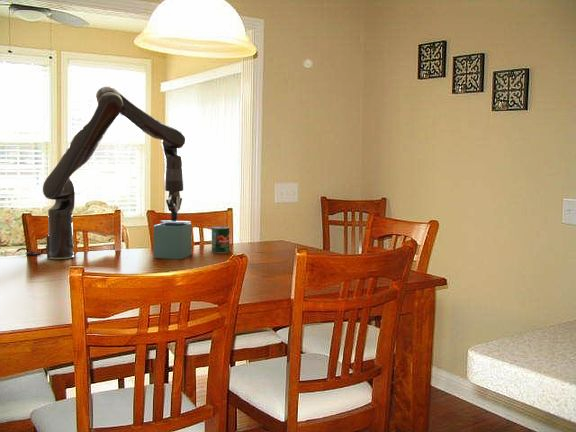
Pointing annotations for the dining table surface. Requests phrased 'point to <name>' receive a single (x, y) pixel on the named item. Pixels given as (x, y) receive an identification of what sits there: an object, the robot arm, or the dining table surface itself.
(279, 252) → the dining table surface
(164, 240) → the carton
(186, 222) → the flap
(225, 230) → the canned tomato
